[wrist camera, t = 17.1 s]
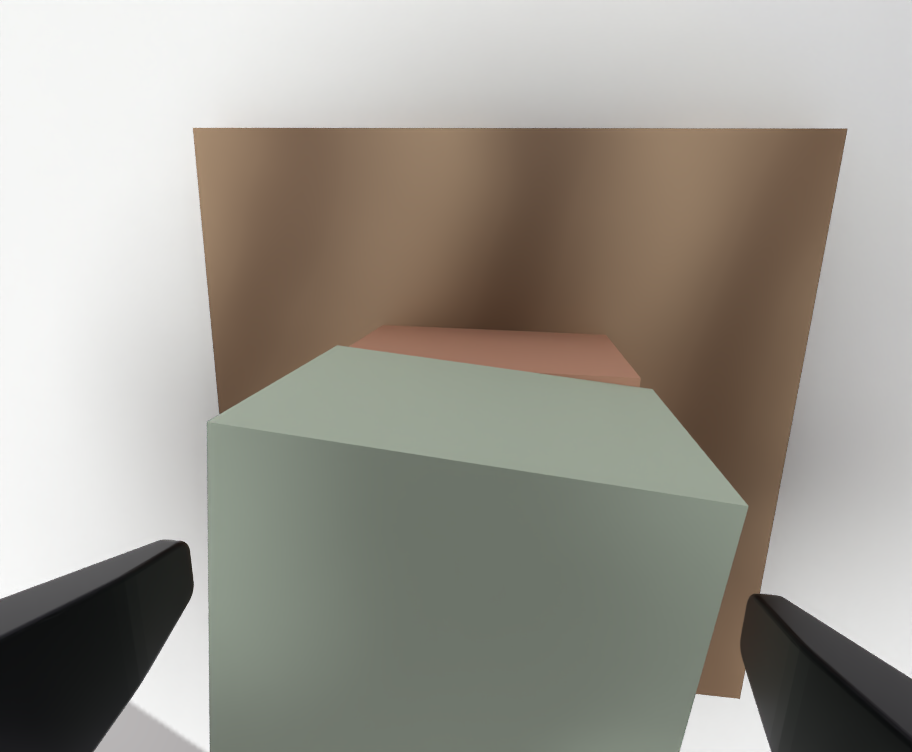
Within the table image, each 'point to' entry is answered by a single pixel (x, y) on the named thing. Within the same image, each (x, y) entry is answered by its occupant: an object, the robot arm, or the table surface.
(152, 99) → the table surface
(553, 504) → the sage brick
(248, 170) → the board
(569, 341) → the terracotta brick
